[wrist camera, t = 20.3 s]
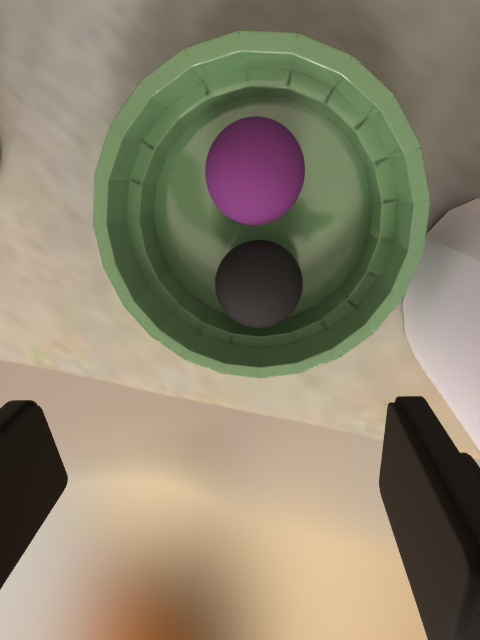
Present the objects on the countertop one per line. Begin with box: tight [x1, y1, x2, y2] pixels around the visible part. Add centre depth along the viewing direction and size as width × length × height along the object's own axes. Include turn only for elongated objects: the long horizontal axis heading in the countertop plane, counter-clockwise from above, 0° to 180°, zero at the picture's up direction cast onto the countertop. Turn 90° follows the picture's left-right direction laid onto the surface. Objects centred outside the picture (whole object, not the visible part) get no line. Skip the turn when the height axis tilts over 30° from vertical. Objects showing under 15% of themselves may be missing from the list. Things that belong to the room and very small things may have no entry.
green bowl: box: [93, 30, 431, 378], centre depth 21 cm, size 18×18×6 cm
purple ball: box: [205, 116, 305, 225], centre depth 19 cm, size 6×6×6 cm
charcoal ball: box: [215, 240, 303, 328], centre depth 22 cm, size 6×6×6 cm
